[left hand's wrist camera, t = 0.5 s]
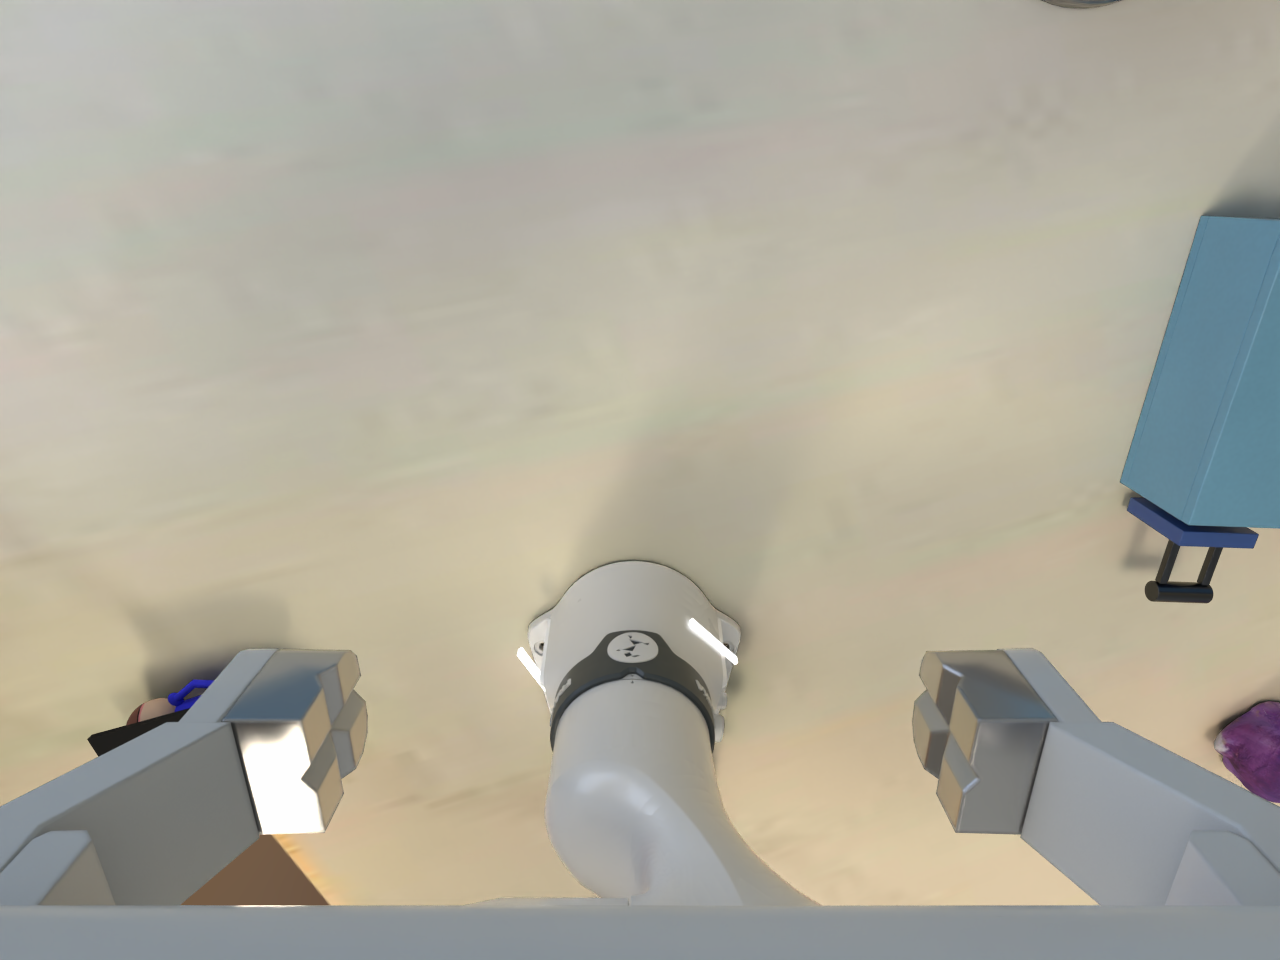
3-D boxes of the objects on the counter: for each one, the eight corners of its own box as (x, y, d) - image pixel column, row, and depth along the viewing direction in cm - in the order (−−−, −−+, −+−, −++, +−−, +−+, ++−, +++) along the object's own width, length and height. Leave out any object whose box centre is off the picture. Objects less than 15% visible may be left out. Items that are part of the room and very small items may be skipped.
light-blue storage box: (1201, 485, 61) (1282, 529, 53) (1119, 482, 61) (1188, 525, 53) (1294, 219, 53) (1404, 226, 45) (1200, 215, 53) (1294, 221, 45)
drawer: (1172, 574, 63) (1227, 614, 57) (1107, 571, 63) (1155, 612, 57) (1280, 267, 53) (1359, 278, 48) (1203, 264, 53) (1273, 274, 47)
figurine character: (282, 638, 68) (127, 689, 68) (250, 688, 61) (77, 745, 61) (315, 695, 70) (165, 744, 70) (288, 750, 63) (121, 804, 63)
